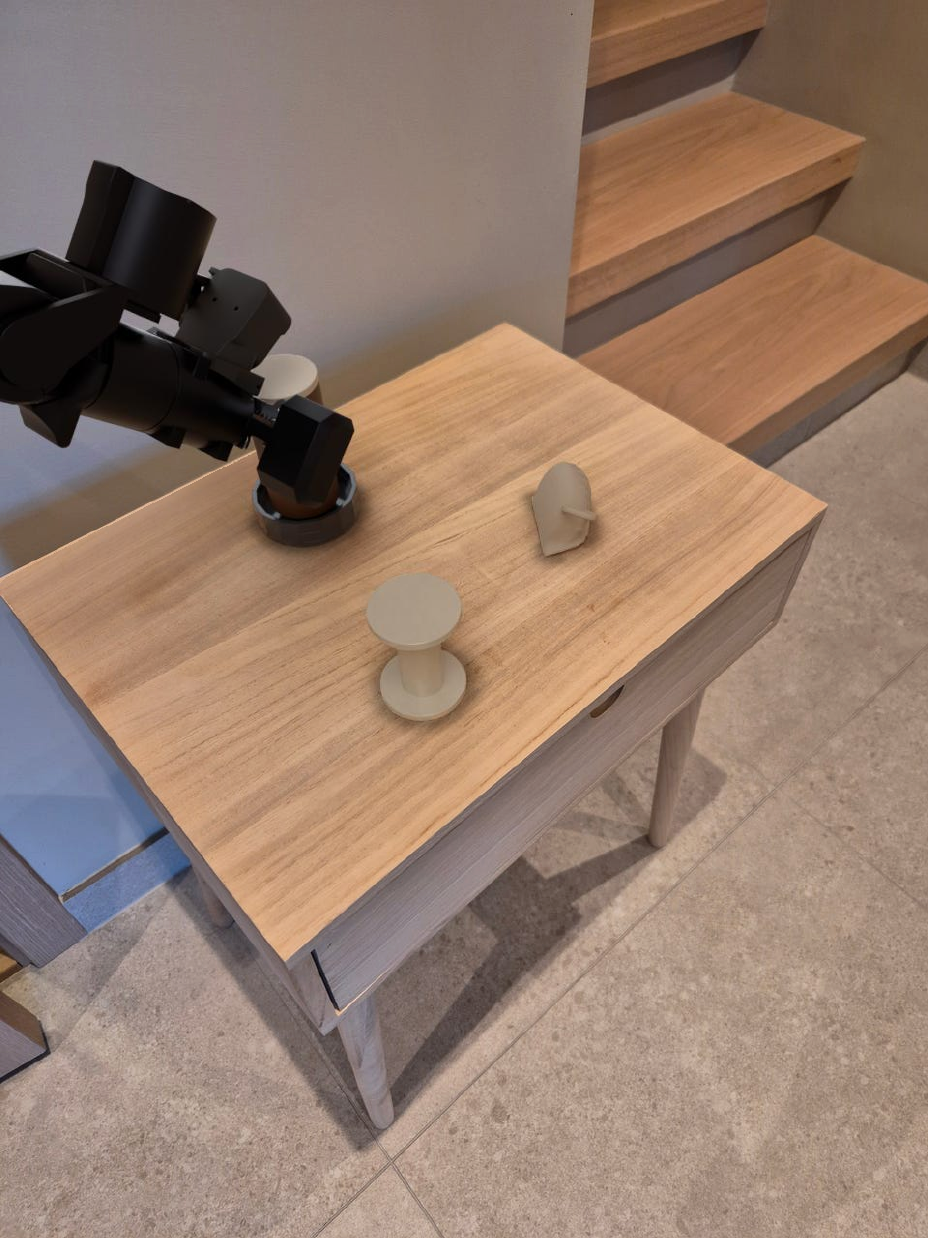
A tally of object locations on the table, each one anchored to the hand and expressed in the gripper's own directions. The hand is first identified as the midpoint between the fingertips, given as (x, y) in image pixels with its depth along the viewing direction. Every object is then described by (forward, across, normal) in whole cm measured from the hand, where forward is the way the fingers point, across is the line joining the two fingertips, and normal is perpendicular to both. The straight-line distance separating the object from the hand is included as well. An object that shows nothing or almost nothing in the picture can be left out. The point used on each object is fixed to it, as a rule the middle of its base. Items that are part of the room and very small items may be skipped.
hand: (307, 440), depth 64 cm
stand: (-2, -19, +11) cm, 22 cm away
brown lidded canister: (+2, 0, +4) cm, 5 cm away
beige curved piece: (+11, -18, -2) cm, 21 cm away
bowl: (+4, 0, +5) cm, 6 cm away
